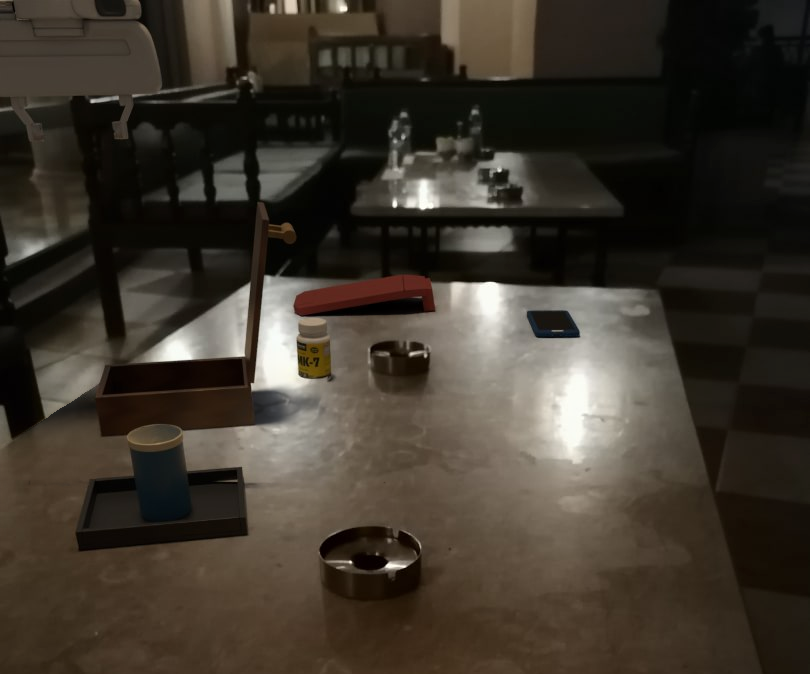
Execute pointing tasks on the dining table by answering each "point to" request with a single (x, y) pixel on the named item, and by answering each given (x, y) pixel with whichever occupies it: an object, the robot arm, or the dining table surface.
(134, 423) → the chest
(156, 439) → the canister
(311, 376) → the supplement bottle
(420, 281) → the red ramp
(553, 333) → the cell phone
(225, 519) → the tray
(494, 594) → the dining table surface
